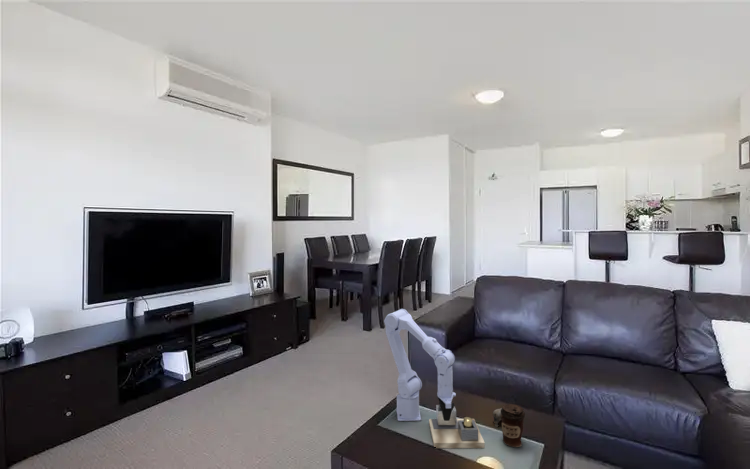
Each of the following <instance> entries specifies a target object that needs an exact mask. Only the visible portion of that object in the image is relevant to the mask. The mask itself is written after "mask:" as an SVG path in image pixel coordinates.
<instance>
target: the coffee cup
mask: <svg viewBox="0 0 750 469" xmlns="http://www.w3.org/2000/svg"><path fill="white" fill-rule="evenodd" d="M501 408H502V409H501ZM501 408H500V409H501V420H500V421H501V432H502V441H503V443H504V444H505V445H507V446H509V447H511V448H512V447H513V448H519V447H522V437H523V432H524V419H525V418H526V413H525V411H524V408H523V407H521V405H518V404H513V403H507V404H504V405H502V407H501Z"/></svg>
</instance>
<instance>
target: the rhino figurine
mask: <svg viewBox="0 0 750 469" xmlns="http://www.w3.org/2000/svg"><path fill="white" fill-rule="evenodd" d="M502 408H503V407H501V408H497V409H495V410H493V412H492V416H493V423H494V422H495V423H494V427H495V428H499V427H498V426H500V425H499V422H500V421H501V409H502Z"/></svg>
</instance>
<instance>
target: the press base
mask: <svg viewBox="0 0 750 469" xmlns="http://www.w3.org/2000/svg"><path fill="white" fill-rule="evenodd" d="M471 419H472V428H464V418H456V425H438V423H437V419H436V418H429V419H428V425H429V429H430V435H431V439H432V444H433V447H436V448H435V449H485V447H486V446H485V443H486V442H485V440H484V438H483V436H482V434H481V431H480V429H479V427H478V425H477V423H476V420H475V418H471Z"/></svg>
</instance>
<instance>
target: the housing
mask: <svg viewBox="0 0 750 469" xmlns="http://www.w3.org/2000/svg"><path fill="white" fill-rule="evenodd" d="M435 407H436V409H435V410H436V415H435V416H436V418H435V419H437V423H438V425H456V419H457V409H456V405H455V406H454V408H453V410H452V412H451V416H450V420H449V421H444V419H443V413H442V409H441V407H440V405H439V404H436V405H435Z"/></svg>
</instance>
